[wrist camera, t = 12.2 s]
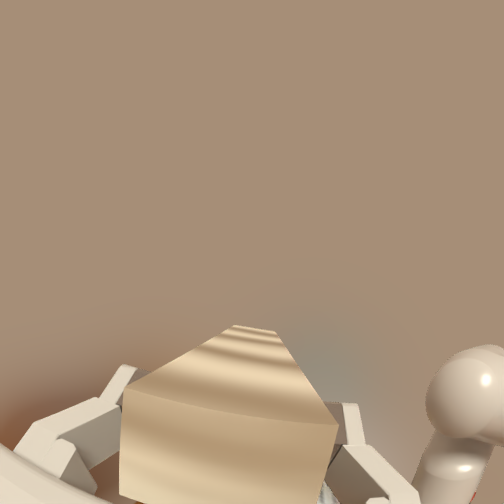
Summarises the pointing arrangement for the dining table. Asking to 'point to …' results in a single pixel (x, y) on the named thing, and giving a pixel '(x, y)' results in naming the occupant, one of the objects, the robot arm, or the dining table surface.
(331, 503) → the dining table surface
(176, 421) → the birch bar
